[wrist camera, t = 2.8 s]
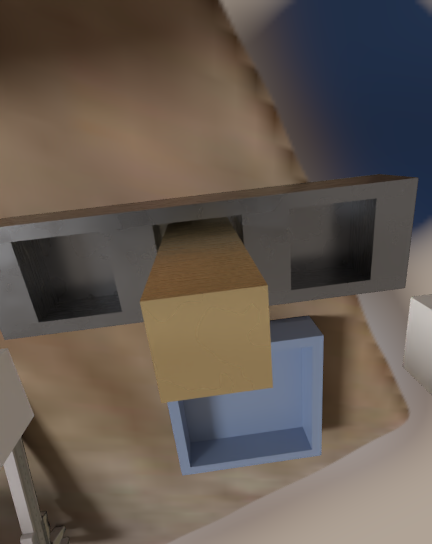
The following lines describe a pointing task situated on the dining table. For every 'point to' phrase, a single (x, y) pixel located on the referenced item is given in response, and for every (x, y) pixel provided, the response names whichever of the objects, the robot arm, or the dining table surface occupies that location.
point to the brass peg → (206, 313)
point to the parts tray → (259, 410)
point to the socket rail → (234, 205)
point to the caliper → (29, 502)
